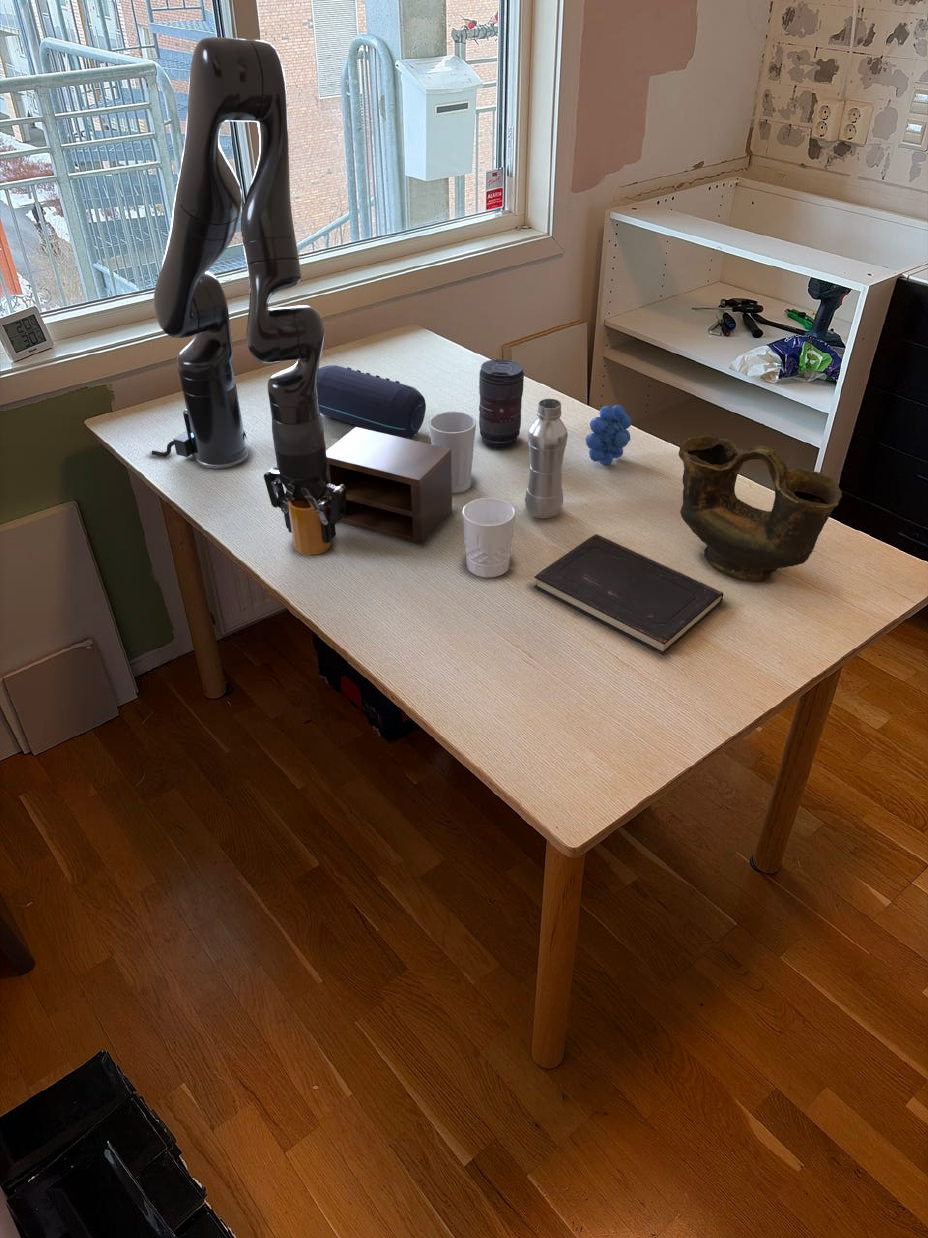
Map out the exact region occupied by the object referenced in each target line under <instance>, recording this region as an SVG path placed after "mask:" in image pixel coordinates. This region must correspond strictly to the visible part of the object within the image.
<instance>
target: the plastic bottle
mask: <svg viewBox="0 0 928 1238" xmlns="http://www.w3.org/2000/svg"><path fill="white" fill-rule="evenodd" d="M536 415H537V417H536V419H535V420H534V421H533V422H532V424H531V425H530V427H529V429H528V432H527V442H528V452H529V474H528V481H527V486H526V490H525V496H524V505H525V509H526V511H527V512H528V513H529V514H530V515H531V516H532V517H535V518H538V519H549V518H553V517H555V516H557V515H558V514H559V513H560V511H561V510H562V508H563V504H564V492H563V491H564V490H563V477H562V476H563V474H562V469H563V464H564V457H565V456H564V455H565V451H566V447H567V442H568V435H569V434H568V430H567V427H566V425H565V424H564V422H563V421H562V419H561V416H562V401H559V400H558V399H556V398H544V399H541V400H539V401H538V404H537V410H536Z"/></svg>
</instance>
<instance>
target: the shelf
mask: <svg viewBox="0 0 928 1238" xmlns="http://www.w3.org/2000/svg"><path fill="white" fill-rule="evenodd" d="M326 456H327V471H326V475H327V478H328V479H329V481H330V484H333V485H335V486H338V487H339V486H340V485H341V484H343V485H345V486H346V488H347V491H346V512H345V516H344V517H343V518H342V519H341V520H340V521H339V522H338V523H340V524H345V525H348V526H351V527H355V528H359V529H362V530H366V531H370V532H373V533H377V534H381V535H385V536H388V537H391V538H395V539H398V540H402V541H406V542H410V543H414V544H417V545H420V546H423V544H425V542H426V541H427V540H428V539H429V538H430V537H431V535H432V534H434V532H436V530H437V529H438V528H439V527H440V526H441V525H442V524H443V522H445V520H446V519H447V518H448V517H449V516H450V515H451V514H452V513H453V496H452V495H453V493H452V475H451V449H448V448H444V447H440V446H436V445H432V443H426V442H422V441H417V440H414V439H411V438H408V439H406V438H401V437H397V436H393V435H389V434H384V433H380V432H376V431H373V430H370V429H367V428H363V427H360V426H355V427H353V428H352V429H351V430H350V431H349V432H348V433H346V434H345V435H344V436H343V437H341V438H340V439H338V440H337V441H336V442H335V443H333V444H332V445H331V446H329V448H327V449H326ZM327 493H328V492H327ZM328 495H329V493H328ZM329 497H330V496H329Z"/></svg>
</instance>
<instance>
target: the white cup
mask: <svg viewBox="0 0 928 1238" xmlns="http://www.w3.org/2000/svg"><path fill="white" fill-rule="evenodd" d="M515 519H516V509H515V507H514V506H513V504H512V503H510V502H508V501H507V500H505V499H502V498H499V497H498V498H497V497H480V498H476V499H473V500H471V501H468V502H467V503H465V505H464V506H463V508H462V524H463V525H462V526H463V542H464V551H465V563H466V565H465V566H466V567H467V570H468V571H469V572H470V573H472V574H473V575H474V576H477V577H481V578H497V577H500V576H502V575H504V574H505V573H506V572H508V570H509V568H510V565H511V554H512V551H513V542H514V529H515Z"/></svg>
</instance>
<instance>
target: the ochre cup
mask: <svg viewBox="0 0 928 1238" xmlns="http://www.w3.org/2000/svg"><path fill="white" fill-rule="evenodd" d="M321 501H322V499H320V500H319V501H318V504H319V503H320V502H321ZM323 502H324V500H323ZM323 502H321V503H320V504H319V505H321V504H322V503H323ZM287 503H288V510H289V517H290V523H291V530H292V533H291V536H292V537H291V538H292V543H293V547H294V549H295V551H296V552H298V553H299V554H300V555H301V554H302V555H306V556H314V555H319V554H322V553H325V552H326V551H327V550H329V548H331V545H332V540H331V541H330V542H329V543H325V542H323V536H322V528H321V523H322V522H321V520H320V518H319V516H318V513H316V512H315V510H314V508H311V506H310V504H307V503H305V502H303V501H294V502H293V503H291V502H289V501H288V502H287ZM324 511H325V513H326V514H327V512H326V508H325V509H324Z"/></svg>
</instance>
